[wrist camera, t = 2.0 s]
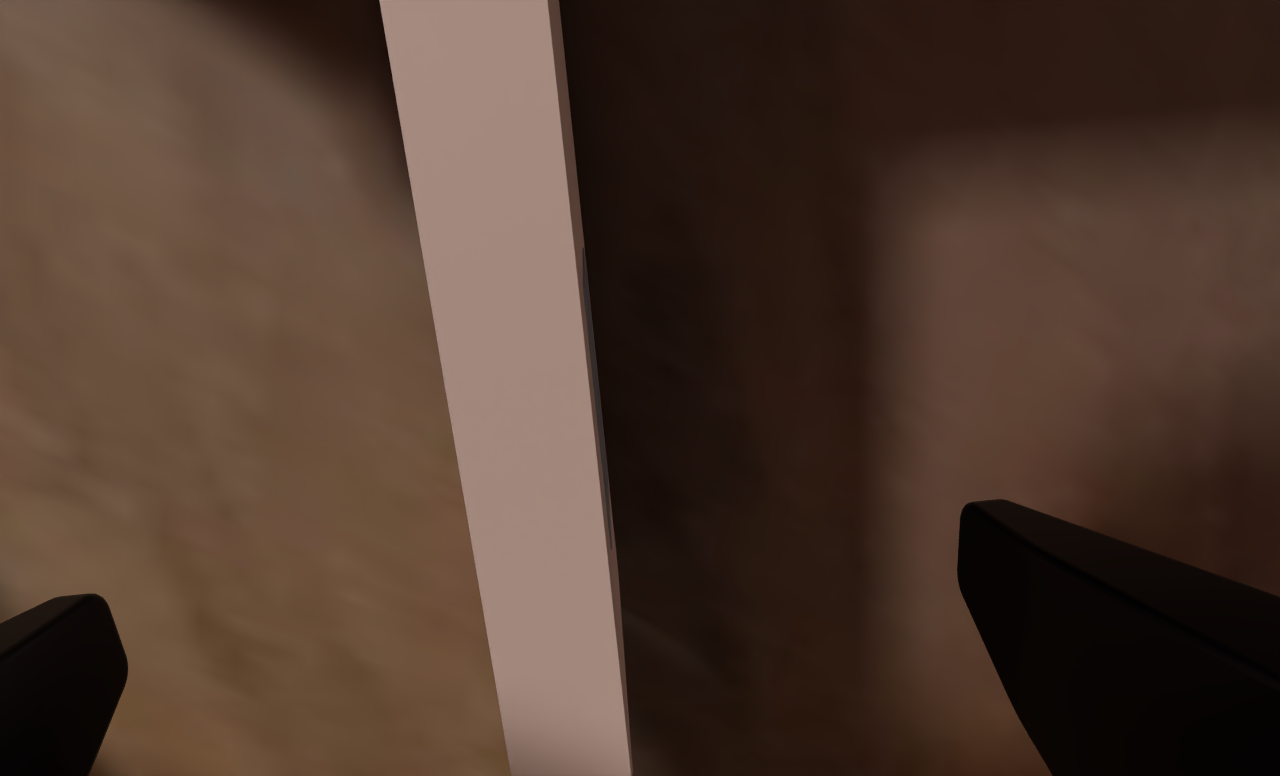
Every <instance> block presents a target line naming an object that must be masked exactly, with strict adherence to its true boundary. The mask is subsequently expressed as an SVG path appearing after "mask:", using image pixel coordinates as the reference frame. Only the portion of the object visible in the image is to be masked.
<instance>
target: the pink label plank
mask: <svg viewBox="0 0 1280 776" xmlns="http://www.w3.org/2000/svg"><path fill="white" fill-rule="evenodd" d="M379 1H380V7H381V13H382V19H383V24H384V30H385V36H386V42H387V48H388V54H389V60H390V66H391V71H392V77H393V83H394V89H395V95H396V101H397V107H398V113H399V118H400V124H401V130H402V136H403V142H404V148H405V154H406V160H407V165H408V171H409V177H410V183H411V189H412V195H413V201H414V207H415V212H416V218H417V224H418V230H419V236H420V242H421V248H422V254H423V259H424V265H425V271H426V277H427V283H428V289H429V295H430V301H431V306H432V312H433V318H434V324H435V330H436V336H437V342H438V348H439V353H440V359H441V365H442V371H443V377H444V383H445V389H446V395H447V400H448V406H449V412H450V418H451V424H452V430H453V436H454V442H455V447H456V453H457V459H458V465H459V471H460V477H461V483H462V489H463V494H464V500H465V506H466V512H467V518H468V524H469V530H470V536H471V541H472V547H473V553H474V559H475V565H476V571H477V577H478V583H479V588H480V594H481V600H482V606H483V612H484V618H485V624H486V630H487V635H488V641H489V647H490V653H491V659H492V665H493V671H494V677H495V682H496V688H497V694H498V700H499V706H500V712H501V718H502V724H503V729H504V735H505V741H506V747H507V753H508V759H509V765H510V771H511V776H633V767H632V754H631V740H630V726H629V713H628V699H627V685H626V672H625V658H624V644H623V631H622V617H621V603H620V590H619V576H618V565H617V555H616V546H615V536H614V527H613V517H612V507H611V498H610V488H609V478H608V469H607V459H606V449H605V440H604V430H603V421H602V411H601V401H600V392H599V382H598V372H597V363H596V353H595V343H594V334H593V324H592V315H591V305H590V295H589V286H588V276H587V266H586V257H585V247H584V237H583V228H582V218H581V209H580V199H579V189H578V180H577V170H576V160H575V151H574V141H573V131H572V122H571V112H570V103H569V93H568V83H567V74H566V64H565V54H564V45H563V35H562V25H561V16H560V6H559V0H379Z"/></svg>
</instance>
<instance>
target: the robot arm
mask: <svg viewBox="0 0 1280 776" xmlns="http://www.w3.org/2000/svg"><path fill="white" fill-rule="evenodd" d="M957 575H958V582H959V587H960V590H961V593H962V596H963V598H964V600H965V602H966V605H967V607H968V609H969V611H970V613H971V616H972V618H973V620H974V622H975V624H976V627H977V629H978V631H979V633H980V636H981V638H982V640H983V642H984V644H985V647H986V649H987V651H988V653H989V655H990V658H991V660H992V662H993V664H994V667H995V669H996V671H997V673H998V675H999V678H1000V680H1001V682H1002V684H1003V686H1004V689H1005V691H1006V693H1007V695H1008V697H1009V699H1010V701H1011V703H1012V705H1013V707H1014V710H1015V712H1016V714H1017V715H1018V717H1019V719H1020V721H1021V723H1022V724H1023V726H1024V728H1025V730H1026V731H1027V733H1028V735H1029V737H1030V738H1031V740H1032V742H1033V743H1034V745H1035V747H1036V748H1037V750H1038V752H1039V753H1040V755H1041V757H1042V758H1043V760H1044V762H1045V764H1046V765H1047V767H1048V769H1049V770H1050V772H1051V774H1052V775H1053V776H1280V597H1279V596H1276V595H1273V594H1270V593H1267V592H1265V591H1262V590H1259V589H1256V588H1253V587H1250V586H1248V585H1245V584H1242V583H1239V582H1236V581H1233V580H1231V579H1228V578H1225V577H1222V576H1219V575H1217V574H1214V573H1211V572H1208V571H1205V570H1202V569H1200V568H1197V567H1194V566H1191V565H1188V564H1185V563H1183V562H1180V561H1177V560H1174V559H1171V558H1168V557H1166V556H1163V555H1160V554H1157V553H1154V552H1152V551H1149V550H1146V549H1143V548H1140V547H1137V546H1135V545H1132V544H1129V543H1126V542H1123V541H1120V540H1118V539H1115V538H1112V537H1109V536H1106V535H1104V534H1101V533H1098V532H1095V531H1092V530H1089V529H1087V528H1084V527H1081V526H1078V525H1075V524H1072V523H1070V522H1067V521H1064V520H1061V519H1058V518H1055V517H1053V516H1050V515H1047V514H1044V513H1041V512H1039V511H1036V510H1033V509H1030V508H1027V507H1024V506H1022V505H1019V504H1016V503H1013V502H1010V501H1007V500H1004V499H996V500H986V501H977V502H971V503H967V504H966V505H965V506H964V508H963V509H962V513H961V516H960V529H959V547H958V565H957ZM127 676H128V662H127V657H126V654H125V651H124V648H123V645H122V642H121V640H120V637H119V634H118V631H117V628H116V625H115V622H114V619H113V617H112V614H111V611H110V608H109V606H108V604H107V602H106V601H105V600H104V598H103V597H101V596H99V595H97V594H80V595H70V596H61V597H56V598H53V599H51V600H48V601H46V602H44V603H42V604H40V605H38V606H36V607H34V608H32V609H30V610H28V611H25V612H23V613H21V614H19V615H17V616H15V617H13V618H11V619H9V620H7V621H5V622H3V623H0V776H89V774H90V771H91V769H92V766H93V764H94V762H95V759H96V757H97V754H98V752H99V749H100V747H101V744H102V742H103V739H104V737H105V734H106V732H107V729H108V727H109V724H110V722H111V719H112V717H113V714H114V712H115V709H116V707H117V705H118V702H119V700H120V697H121V695H122V692H123V690H124V687H125V684H126V681H127Z"/></svg>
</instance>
